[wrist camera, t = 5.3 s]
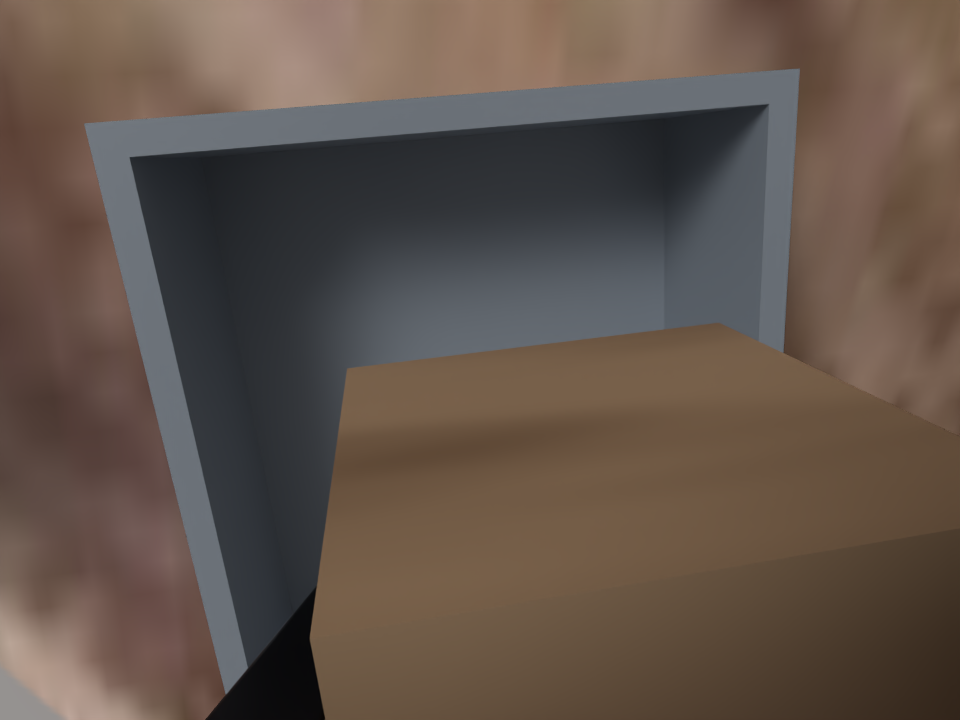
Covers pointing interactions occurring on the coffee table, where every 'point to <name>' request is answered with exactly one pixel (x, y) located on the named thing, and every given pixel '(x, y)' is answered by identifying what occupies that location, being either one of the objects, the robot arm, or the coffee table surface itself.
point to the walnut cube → (636, 540)
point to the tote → (414, 273)
